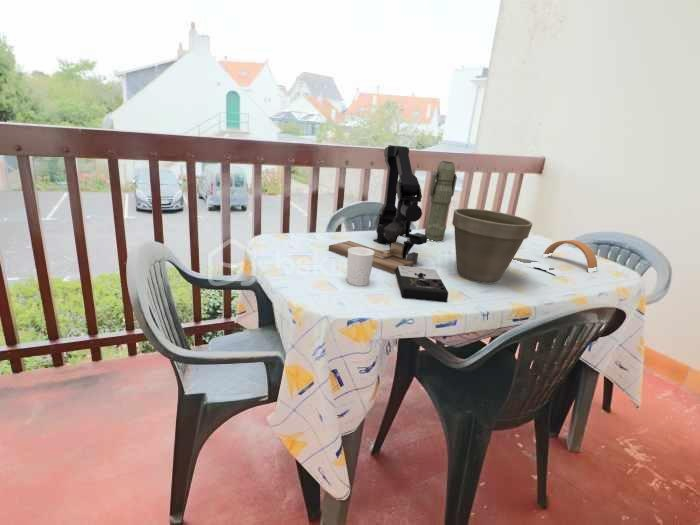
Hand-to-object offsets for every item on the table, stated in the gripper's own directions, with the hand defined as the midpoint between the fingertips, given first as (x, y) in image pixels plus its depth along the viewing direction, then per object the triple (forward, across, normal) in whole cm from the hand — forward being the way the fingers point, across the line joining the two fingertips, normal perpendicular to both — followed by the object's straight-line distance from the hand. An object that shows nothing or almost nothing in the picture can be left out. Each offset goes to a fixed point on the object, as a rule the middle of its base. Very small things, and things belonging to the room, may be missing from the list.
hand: (397, 256), depth 139 cm
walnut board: (+1, -7, -6) cm, 9 cm away
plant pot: (+2, +27, +10) cm, 29 cm away
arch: (+2, +47, +59) cm, 76 cm away
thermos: (+2, -6, +40) cm, 41 cm away
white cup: (+2, +5, -29) cm, 30 cm away
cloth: (+2, +39, +42) cm, 58 cm away
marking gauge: (+1, 0, -4) cm, 4 cm away
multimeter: (+2, +19, -17) cm, 26 cm away
